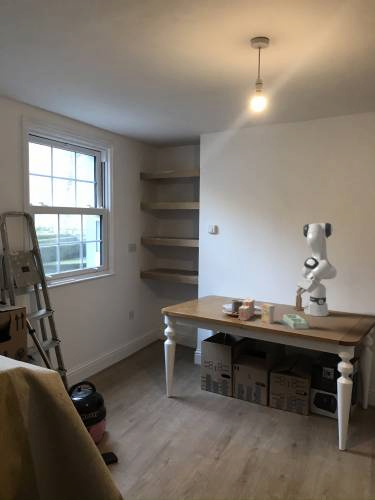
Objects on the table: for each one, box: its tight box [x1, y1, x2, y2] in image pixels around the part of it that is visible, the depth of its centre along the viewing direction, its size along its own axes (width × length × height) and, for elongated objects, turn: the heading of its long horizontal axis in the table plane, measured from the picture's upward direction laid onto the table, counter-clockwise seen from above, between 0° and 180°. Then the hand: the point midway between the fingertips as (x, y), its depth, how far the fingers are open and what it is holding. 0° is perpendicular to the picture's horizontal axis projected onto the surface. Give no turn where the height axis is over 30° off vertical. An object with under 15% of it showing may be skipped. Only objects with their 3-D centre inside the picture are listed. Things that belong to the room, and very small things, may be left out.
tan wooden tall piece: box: [292, 289, 305, 312], centre depth 264 cm, size 7×5×14 cm
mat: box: [276, 319, 315, 330], centre depth 271 cm, size 22×20×1 cm
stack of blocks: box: [237, 298, 255, 321], centre depth 290 cm, size 21×6×12 cm, turn 155°
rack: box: [282, 313, 310, 330], centre depth 271 cm, size 24×10×4 cm, turn 4°
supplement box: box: [261, 303, 275, 324], centre depth 276 cm, size 8×5×13 cm, turn 31°
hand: (298, 293), depth 263 cm, fingers closed on tan wooden tall piece, 3 cm apart
